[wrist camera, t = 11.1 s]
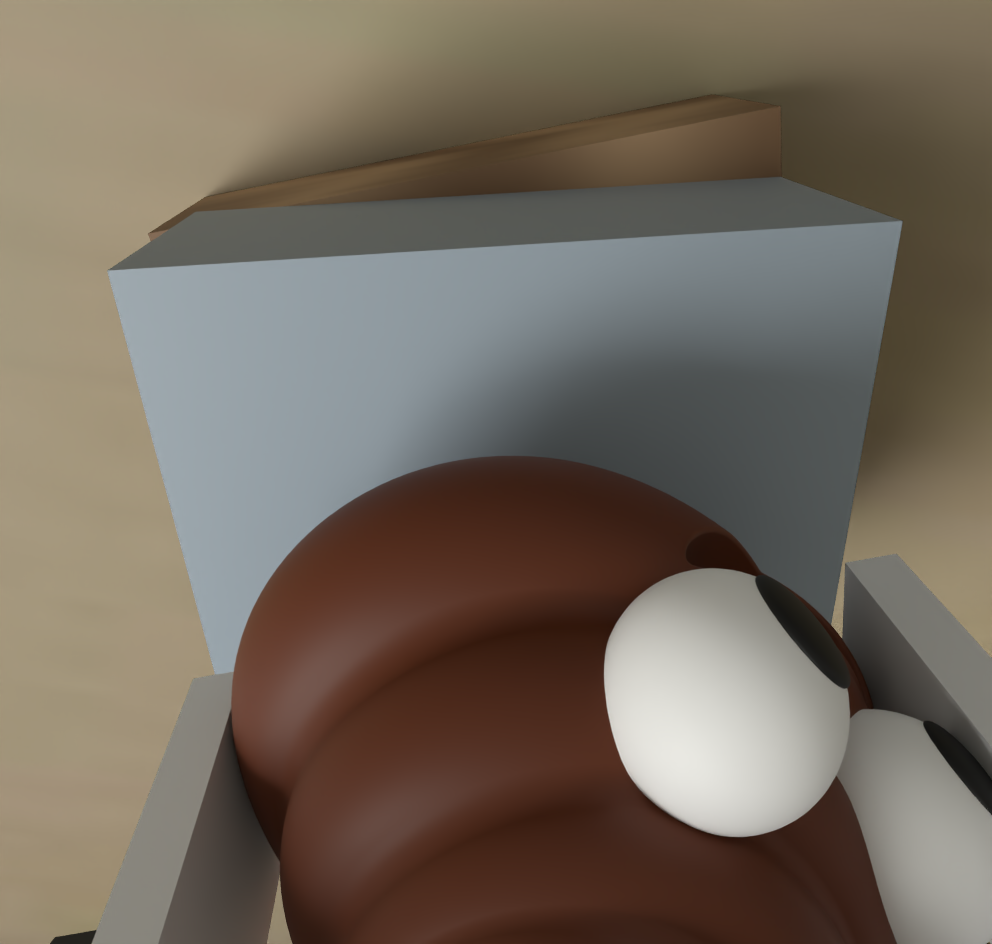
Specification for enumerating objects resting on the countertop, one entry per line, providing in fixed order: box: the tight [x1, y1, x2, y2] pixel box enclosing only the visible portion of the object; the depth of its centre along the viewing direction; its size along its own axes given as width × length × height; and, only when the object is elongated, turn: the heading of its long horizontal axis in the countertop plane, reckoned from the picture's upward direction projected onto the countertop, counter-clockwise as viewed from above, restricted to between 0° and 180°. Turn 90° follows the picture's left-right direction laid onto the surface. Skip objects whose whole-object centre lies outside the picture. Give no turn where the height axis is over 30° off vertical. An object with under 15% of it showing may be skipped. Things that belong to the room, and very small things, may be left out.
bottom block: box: [148, 95, 782, 241], centre depth 22 cm, size 13×13×5 cm
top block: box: [108, 177, 903, 675], centre depth 17 cm, size 12×12×5 cm
